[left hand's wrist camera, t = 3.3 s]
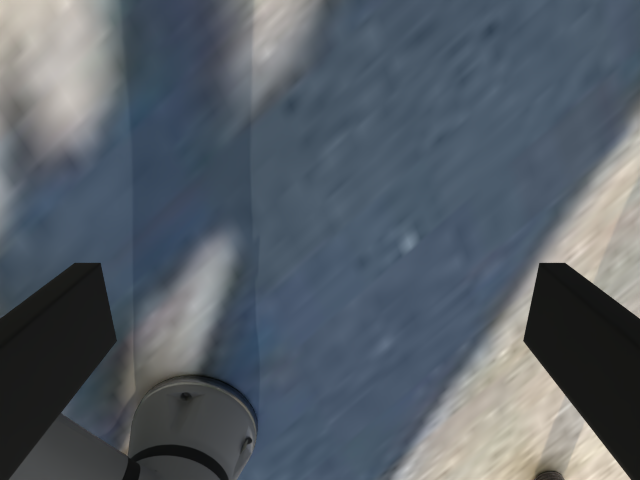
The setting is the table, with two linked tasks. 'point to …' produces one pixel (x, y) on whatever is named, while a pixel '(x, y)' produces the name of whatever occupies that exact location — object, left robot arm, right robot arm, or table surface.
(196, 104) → the table surface
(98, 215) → the table surface
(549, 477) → the light bulb
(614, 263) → the table surface
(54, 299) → the left robot arm
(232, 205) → the table surface
